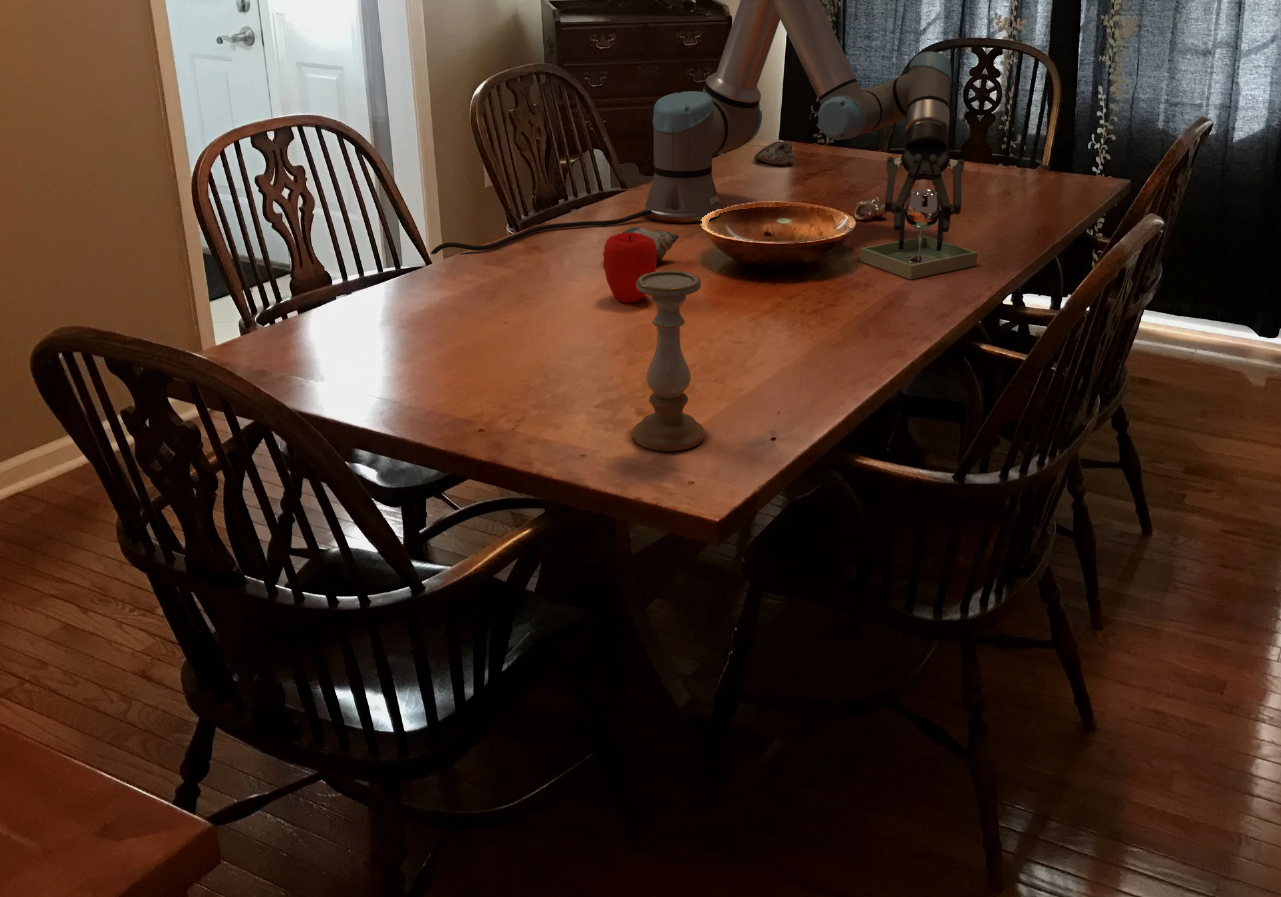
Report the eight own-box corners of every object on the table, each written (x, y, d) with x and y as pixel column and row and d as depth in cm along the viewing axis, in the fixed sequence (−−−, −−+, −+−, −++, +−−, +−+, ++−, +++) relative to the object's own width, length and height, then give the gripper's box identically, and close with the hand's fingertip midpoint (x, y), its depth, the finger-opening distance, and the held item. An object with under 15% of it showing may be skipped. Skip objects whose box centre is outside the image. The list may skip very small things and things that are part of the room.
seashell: (614, 264, 230) (676, 269, 226) (599, 257, 223) (663, 263, 219) (619, 229, 230) (681, 234, 226) (604, 222, 223) (668, 226, 219)
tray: (910, 279, 215) (911, 265, 214) (860, 261, 225) (860, 248, 224) (976, 265, 222) (977, 252, 221) (924, 248, 232) (925, 235, 231)
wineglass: (933, 255, 226) (939, 188, 221) (936, 264, 221) (942, 196, 215) (900, 254, 226) (905, 188, 221) (903, 264, 221) (908, 196, 216)
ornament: (879, 224, 248) (880, 206, 247) (847, 219, 251) (848, 201, 250) (895, 215, 254) (896, 197, 253) (863, 211, 258) (864, 193, 256)
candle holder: (690, 456, 152) (691, 293, 143) (622, 446, 155) (619, 286, 146) (713, 428, 159) (715, 272, 151) (648, 419, 162) (647, 265, 154)
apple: (667, 302, 205) (667, 236, 201) (620, 311, 202) (619, 244, 197) (640, 288, 212) (639, 224, 208) (594, 296, 209) (592, 232, 204)
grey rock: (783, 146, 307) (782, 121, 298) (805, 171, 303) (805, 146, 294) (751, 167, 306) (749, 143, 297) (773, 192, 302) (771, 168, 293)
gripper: (978, 145, 228) (974, 258, 220) (873, 143, 232) (864, 254, 224) (983, 120, 221) (978, 236, 213) (874, 118, 225) (865, 232, 217)
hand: (920, 245), depth 219 cm, fingers closed on wineglass, 6 cm apart
